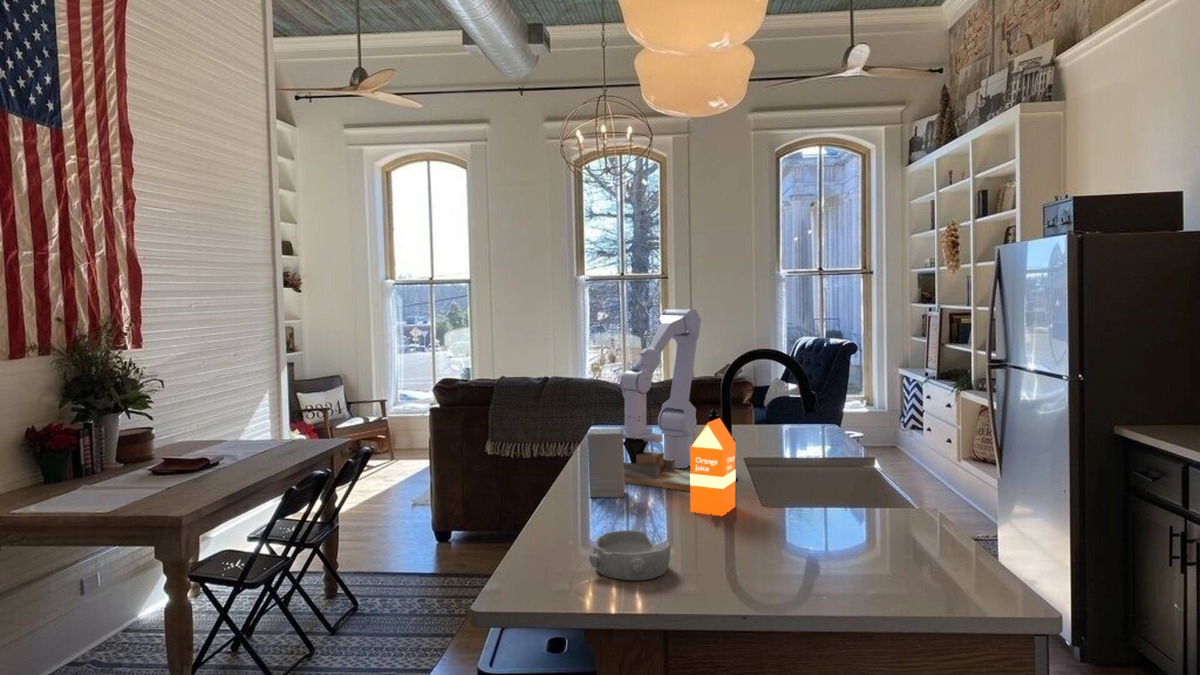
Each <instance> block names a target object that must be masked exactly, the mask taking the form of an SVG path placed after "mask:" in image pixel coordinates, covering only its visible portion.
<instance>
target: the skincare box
mask: <svg viewBox="0 0 1200 675" xmlns="http://www.w3.org/2000/svg"><path fill="white" fill-rule="evenodd" d="M623 430H624V429H623V428H622V427H620V428H590V430H589V431H588V432H587V436H586V438H587V452H588V453H587V455H588V456H587V457H588V479H589V482H588V483H589V498H590V497H600V498H623V497H624V494H625V491H626V483H625V475H624V462H625V454H624V445H623V442H624V439H623Z"/></svg>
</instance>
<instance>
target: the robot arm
mask: <svg viewBox="0 0 1200 675" xmlns="http://www.w3.org/2000/svg"><path fill="white" fill-rule="evenodd" d="M701 322H702V319H701V317H700V315H699V313H698V311H697V310H696V309H695V308H688V309H687V308H685V309H681V308H680V309H679V308H675V309H674V308H665V309H663V311H662V313H661V315H660V316H659V318H658V324H659V327H658V329H657V330H656V333H655V335H654V337H653V338H652V340H651V343H650V345H649V347H648V348H643V349H642V350H640V353H639V355H638V356H637V358H636V360H635V361H634V363H633V365H632V366H631V368H630V369H629V370H626V371H625V372H623V374H621V375H622V376H620V377H621V378H620V381H619V387H620V389H621V391H622V398H623V399H624V429H623V440H624V441H623V447H624V448H625V450H626V452H627V454H628V457H629V460H630V463H634V464H636V455H638V454H640V453H643V452H645V449H646V448H647V445H648V443H649V442H651V443H652V442H653V443H657V444H660V443H662V442H664V443H663V444H664V445H663V447H664V448H663V450H664V451H663V453H664V458H666V459H675V467H676V468H675V469H679V468H686V467H687V466H690V447H691V446H692V445H693V443H694V442H695V438H694V437H693V432H695V429H696V427H697V417H696V416H697V415H696V413H697V408H696V407H695V405H693V404H692V403H691V402H690V395H691V388H692V379H693V373H694V366H695V365H694V364H695V358H696V351H697V342H698V340H699V335H700V328H701ZM672 339H673V340H675V342H676V344H677V346H676V351H675V352H676V353H675V361H674V368H673V374H672V381H671V382H672V383H671V389H670V394H669V398H668V399H667V400H666V401H664V402H663V403H662V405H661V409H660V411H659V414H658V417H657V425H658V428H659V430H660V431H661V433H659V434H658V433H653V432H648V431H647V393H648V392H649V390H650V389H651V388H652V387H651V386H652V380H653V378H654V373H655V371H656V369H657V368H658V367H659V365H660V362H661V361H662V359H661V355H660V354H661V353H662V352H663V350H664V349H665V348H666V347H667V345H668V344H669V343H670V341H671V340H672ZM663 437H664V438H663ZM663 439H664V440H663ZM686 469H687V468H686Z"/></svg>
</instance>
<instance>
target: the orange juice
mask: <svg viewBox="0 0 1200 675" xmlns="http://www.w3.org/2000/svg"><path fill="white" fill-rule="evenodd" d="M736 445H737V443H736V442H735V440H734V438H733V437H732V435H731V433H730V432H729V430H728V429H727V427H726V425H725V424H724V422H723V421H722V420H721V418H720V417H719V418H716V419H713V420H711V421H708V422H707V423H706V425H705V426H704V427H703V429H702V431H701V432H700V434H699V435H698V436H697V437H696V438H695V440H694V443H693V445H692V446H691V447H690V467H689V468H690V470H689V471H690V491H689V492H690V493H689V494H690V498H689V499H690V507H689V509H690V511H689V512H690V513H695V512H696V513H697V514H703V515H710V514H712V515H711V516H718V515H719V516H720V517H723V515H724V516H725V515H726V514H727V512H728V513H729V512H730V511H732V509H734V508H735V507H736V480H737V478H736V476H737V475H736V473H737V471H736V450H737V448H736ZM696 513H695V514H696ZM719 516H718V517H719Z"/></svg>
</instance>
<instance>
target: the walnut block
mask: <svg viewBox="0 0 1200 675" xmlns="http://www.w3.org/2000/svg"><path fill="white" fill-rule="evenodd" d="M636 464H643V465H651V466H659V474H660V473H662V472H664V452H660V451H659V452H658V451H650V450H646V451H645V450H644V452H643V453H640V454H638V455H636Z"/></svg>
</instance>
